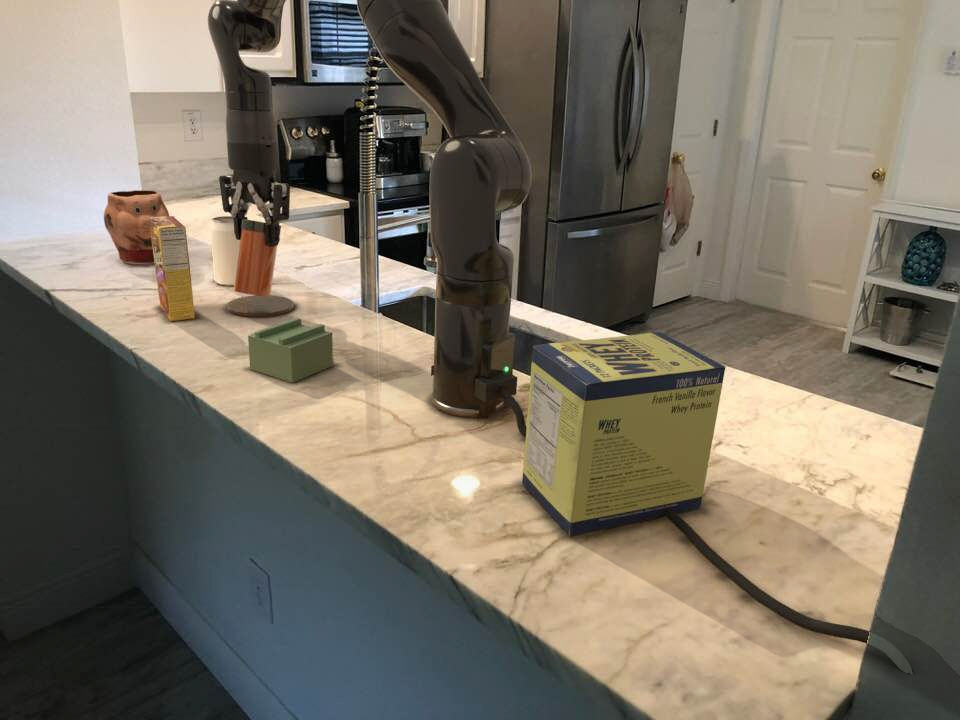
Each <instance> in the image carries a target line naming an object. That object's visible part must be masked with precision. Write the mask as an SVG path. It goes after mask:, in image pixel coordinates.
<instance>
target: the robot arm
mask: <svg viewBox="0 0 960 720" xmlns="http://www.w3.org/2000/svg"><path fill="white" fill-rule="evenodd" d="M286 1H287V0H216V1H215V2H214V3H212V4H211V7H210V8H209V11H208V15H207V28H208V31H209V32H208V33H209V36H210V38H211V42H212V45H213V47H214V50H215V53H216V55H217V59H218V62H219V66H220V69H221V73H222V77H223V82H224V94H225V108H226V109H225V110H226V111H225V112H226V114H225V115H226V116H225V135H226V149H227V165H228V169H230V170H231V171H233V172H232V174H226V175H220V176H219V177H218V182H219V190H220V196H221V204H222V211H223V212H224V213H229V214H230V216H232V217H233V219H234V233H235V236H236V239H237V240H240V238H241V230H242V229H241V220H242V219H246V220H249V219H248V218H249V217H248V216H247V215H248V212H249V209H250V207H251V206H252V205H254V206H256V209H257V211H258V212H260V213H261V215H262V217H263V220H264V223H267V224H265V238H266V246H269V247H273V246H277V247H278V246H279V243H280V240H281V233H280V234H279V225H280V223H282V222H284V221H289V219H290V204H291V203H290V202H291V201H290V200H291V199H290V198H291V185H290V183H287V182H286V183H285V182H284V183H280V182H277V181H276V179H275V176H274V172H275V170H277V168H278V160H277V159H278V157H277V138H276V137H277V136H276V123H275V117H274V111H273V107H274V106H273V93H272V92H273V86H272V79H271V75H270V74H269V73H268V72H267V71H265V70H262V69H259V68H256V67H251V66H248V65H246V64H245V62H244V61H243V59H242V57H241V55H240V52H241V53H242V52H245V53H257V54H258V53H260V54H265V53H270V52H271V51H273V50H274V49H276V48H277V47H278V46H279V44H280V42H281V36H282V19H283V11H284V5H285V3H286ZM356 6H357V12H358V13H359V17H360V19H361V21H362V23H363V25H364V27H365V29H366V31H367V33H368V35H369V37H370V39H371V41H372V43H373V45H374V47H375V49H376V50H377V52H378V54H379V56H380V58H381V59H382V60H383V62H384V63H385V64H386V66H387V67H388V69H389V70H390V71H391V72H392V73H393V74H394V75H395V76H396V77H397V79H399V80H400V81H401V82H402V83H403V84H404V85H405V86H406V87H407V88H408V89H409V90H410V91H411V92H412V93H414V94H415V95H416V97H418V98H419V99H420V100H421V101H422V102H423V103H424V104H425V105H426V106H427V107H428V108H429V109H430V110H431V111H432V112H433V113H434V115H436V117H437V118H438V120H439V121H440V123H442V125H443V127H444V129H445V130H446V132H447V134H448V135H449V138H448V139H447V138H446V140H444V141H443V142H442V143H441V144H440V145H439V146H438V147H437V149H436V151H435V153H434V156H433V158H432V161H431V165H430V172H429V228H430V231H429V232H430V243H431V246H432V250H433V253H434V256H435V259H436V276H435V307H434V309H435V310H434V311H435V312H434V339H433V340H434V344H433V364H432V365H431V366H430V377H433V378H432V392H431V402H432V404H433V406H434V407H435V408H436V409H438V410H439V411H441V412H444V413H446V414H450V415H453V416H459V417H469V418H472V417H474V418H476V417H477V418H483V419H489V418H491V417H492V416H493V415H495V414H497V413H498V412H500V411H502V410H503V409H505V408H506V407H507V406H509V407H510V408H511V410H512V411H513V413H514V415H515V419H516V426H517V429H518V432H519V433H520V434H521V435H522V437H524V438H525V439H526V429H527V424H526V420H525V415H524V411H523V410H522V408H521V406H520V404H519V403H518V402H517V400H516V399H515V398H514V396H516V395H517V391H518V376H516V375H515V374H514V362H515V361H514V360H515V344H516V335H515V333H514V332H510V320H511V307H512V292H513V291H512V290H513V277H514V262H515V261H514V259H515V257H514V253H513V251H512V250H511V248H510V247H508V246H506V245H504V244H500V243H499V241H498V239H497V214H500V213H504V212H508V211H512V210H514V209H517V208H518V207H520V206H521V205H522V204H523V203H524V202H525V201H526V200H527V198H528V196H529V195H530V191H531V189H532V183H533V182H532V181H533V172H532V171H533V170H532V166H531V161H530V159H529V156H528V154H527V151H526V149H525V147H524V146H523V144H522V142H521V140H520V139H519V137H518V136H517V134H516V132H515V131H514V130H513V128H512V127H511V125H510V123H509V122H508V121H507V119H506V117H505V116H504V115H503V113H502V112H501V110H500V108H499V106H498V105H497V104H496V103H495V101H494V99H493V98H492V96H491V94H490V93H489V92H488V89H487V88H486V86H485V85H484V83H483V81H482V79H481V77H480V76H479V73H478V72H477V70H476V68H475V66H474V63H473V62H472V60H471V58H470V57H469V54H468V53H467V52H468V51H466V49H465V47H464V45H463V43H462V41H461V39H460V37H459V36H458V34H457V32H456V29H455V28H454V26H453V24H452V22H451V20H450V17H449V15H448V13H447V10H446V8H445V7H444V5H443V3H442V1H441V0H356ZM230 201H231V203H230ZM664 515H665V516H664V517H666V518H667V520H669V521H670V522H671V523H672V524H673V525H674V526H675V527H676V528H677V529H678V530H679V531H680V532H681V533H682V534H683V535H684V536H685V537H686V538H687V540H688V541H690V543H691V544H692V545H693V546H694V547H695V548H696V549H697V550H698V551H699V553H700V554H702V556H703V557H704V558H706V560H707V561H709V563H711V564H712V565H713V566H714V567H715V568H716V569H717V570H718V571H719V572H721V573H722V574H723V575H725V577H727V578H728V579H729V580H730V581H731V582H733V583H734V584H735V585H736V586H737V587H739V588H740V589H741V590H742V591H744V592H745V593H746V594H747V595H749V596H750V597H751V598H752V599H754V600H755V601H757V602H758V603H759V604H761V605H762V606H764V607H765V608H767V609H768V610H770V611H771V612H773V613H775V614H776V615H777V616H780V617H781V618H783V619H784V620H786V621H788V622H790V623H792V624H794V625H795V626H797V627H800V628H802V629H804V630H807V631H811V632H813V633H817V634H820V635H824V636H825V635H826V636H829V637H834V638H839V639H840V638H841V639H846V640H851V641H855V642H858V643H859V642H860V643H863V644H866V643H867V640H868V636H869V632H871V631H870V630H868V629H864V628H860V627H856V626H851V625H845V624H839V623H834V622H829V621H824V620H820V619H817V618H814V617H811V616H807V615H805V614H803V613H800V612H798V611H797V610H795V609H793V608H791V607H790V606H788V605H786V604H785V603H783V602H781V601H779V600H777V599H776V598H774V597H773V596H771V595H770V594H769V593H766V592H765V591H764V590H763V589H761V588H760V587H758V586H757V585H756V584H754V583H753V582H752V581H751V580H750V579H748V578H747V577H746V576H744V575H743V574H742V573H741V572H739V571H738V570H737V569H736V568H735V567H733V566H732V565H731V564H730V563H728V561H726V560H725V559H724V558H722V556H720V555H719V554H718V553H717V552H716V551H715V550H714V549H712V547H711V546H710V545H709V544H708V543H707V542H706V541H705V540H704V539H703V538H702V537H701V536H700V535H699V534H698V533H697V532H696V531H695V530H694V529H693V528H692V526H690V524H689V523H687V522H686V521H685V520H684V518H682V517H681V516H680V515H679V514H677V513H676V512H675V511H674V510H673V509H672V508H671V507H668V508H666V509H665V510H664Z"/></svg>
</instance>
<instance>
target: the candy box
mask: <svg viewBox="0 0 960 720" xmlns="http://www.w3.org/2000/svg"><path fill="white" fill-rule="evenodd" d="M149 224H150V232H151V239H152V247H153V255H154V262H155V263H154V269H155V270H154V271H155V276H156V286H157V291H158V292H157V293H158V300H159V301H158V302H159V306H160V308H161V309H162V311H163V312H164V313H165V315H166V317H167V319H168V320H169V322H176V321H177V322H178V321H185V320H186V321H187V320H194V319H195V318H196V316H195V315H196V314H195V313H196V312H195V305H194V295H193V286H192V274H191V267H190V257H189V247H188V238H187V237H188V236H187V228H186V226H185V225H183V224H182V223H181V221H179V220H178V219H177V218H176V217H175V216H174V215H169V216H163V217H151V218H149Z"/></svg>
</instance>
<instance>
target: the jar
mask: <svg viewBox="0 0 960 720" xmlns="http://www.w3.org/2000/svg"><path fill="white" fill-rule="evenodd" d="M265 224H267V223H266V222H265V221H258V220H251V219H248V220H246V219H242V220H241V229H242V230H241V238H240V246H239V253H238V261H237V269H236V276H235V284H234V286H233V292H236V293H240V294H245V295H250V296H254V295H258V296H271V295H272V287H273V279H274V273H275V265H276V260H277V259H276V258H277V252H278V251H277V250H278V245H277V246H273V247H269V246H266V238H265ZM281 231H282V225H280V224H279V234H280V235H281Z"/></svg>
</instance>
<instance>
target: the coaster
mask: <svg viewBox="0 0 960 720" xmlns="http://www.w3.org/2000/svg"><path fill="white" fill-rule="evenodd" d="M226 309H227V311H228V313H229V312H230V313H231V314H233V315H237V316H242V317H249V318H265V317H274V316H279V315H283V314H287V313H289V312H291V311H292V310H293V309H294V302H293V300H291V299H290V298H287V297H285V296H279V295H274V294H273V295H272V294H271V296H258V295H249V296H248V295H247V296H242V297H241V296H240V297H237V298H234V299H232V300H230V301H228V302H227V304H226Z"/></svg>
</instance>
